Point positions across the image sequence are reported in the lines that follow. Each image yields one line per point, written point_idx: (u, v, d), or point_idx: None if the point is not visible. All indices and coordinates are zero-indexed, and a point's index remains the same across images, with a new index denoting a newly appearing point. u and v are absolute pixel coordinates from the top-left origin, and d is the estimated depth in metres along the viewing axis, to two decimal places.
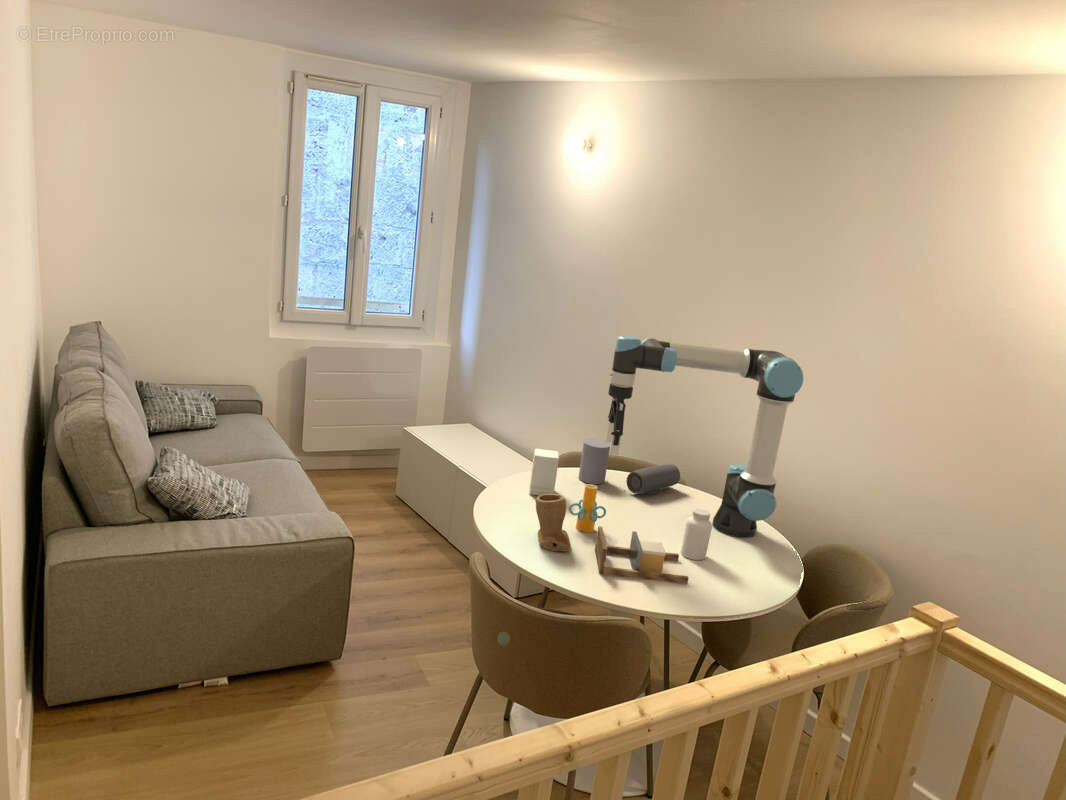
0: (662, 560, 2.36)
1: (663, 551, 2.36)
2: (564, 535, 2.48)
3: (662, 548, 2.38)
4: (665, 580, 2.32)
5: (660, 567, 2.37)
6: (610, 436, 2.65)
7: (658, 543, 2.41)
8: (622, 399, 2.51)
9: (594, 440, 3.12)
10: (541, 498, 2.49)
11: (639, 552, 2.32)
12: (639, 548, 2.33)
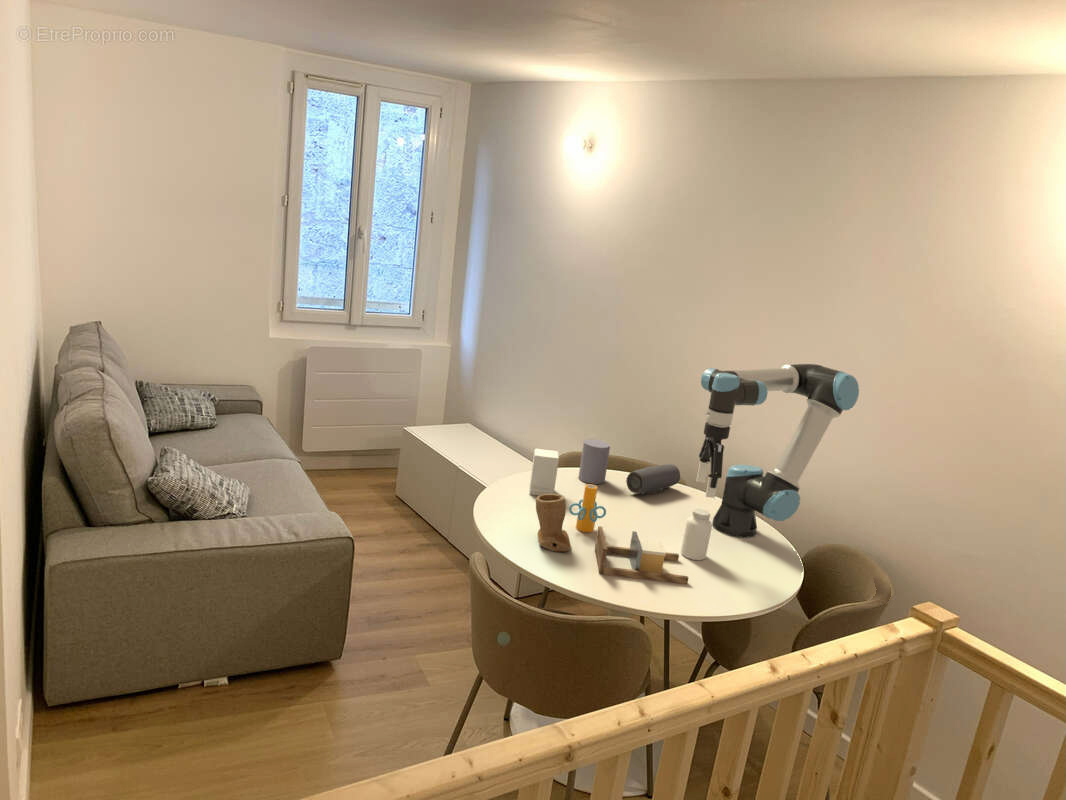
0: (662, 560, 2.36)
1: (663, 551, 2.36)
2: (564, 535, 2.48)
3: (662, 548, 2.38)
4: (665, 580, 2.32)
5: (660, 567, 2.37)
6: (701, 476, 2.54)
7: (658, 543, 2.41)
8: (719, 440, 2.40)
9: (594, 440, 3.12)
10: (541, 498, 2.49)
11: (639, 552, 2.32)
12: (639, 548, 2.33)
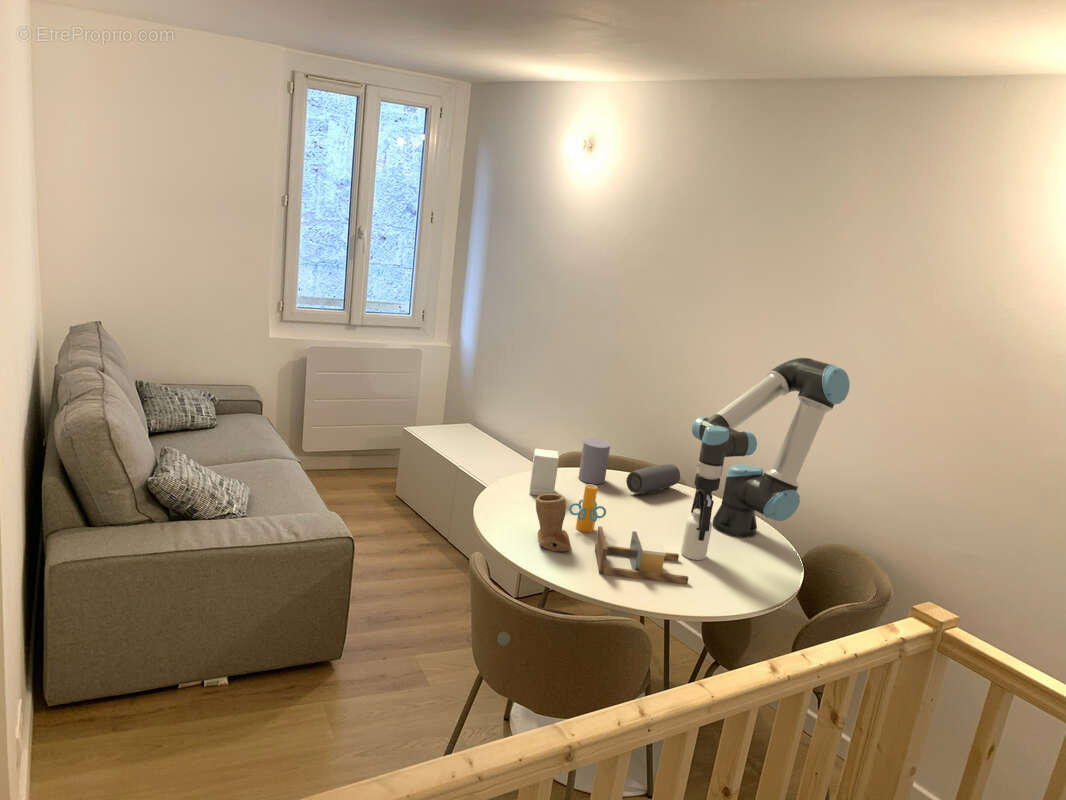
0: (662, 560, 2.36)
1: (663, 551, 2.36)
2: (564, 535, 2.48)
3: (662, 548, 2.38)
4: (665, 580, 2.32)
5: (660, 567, 2.37)
6: None
7: (658, 543, 2.41)
8: (709, 492, 2.44)
9: (594, 440, 3.12)
10: (541, 498, 2.49)
11: (639, 552, 2.32)
12: (639, 548, 2.33)
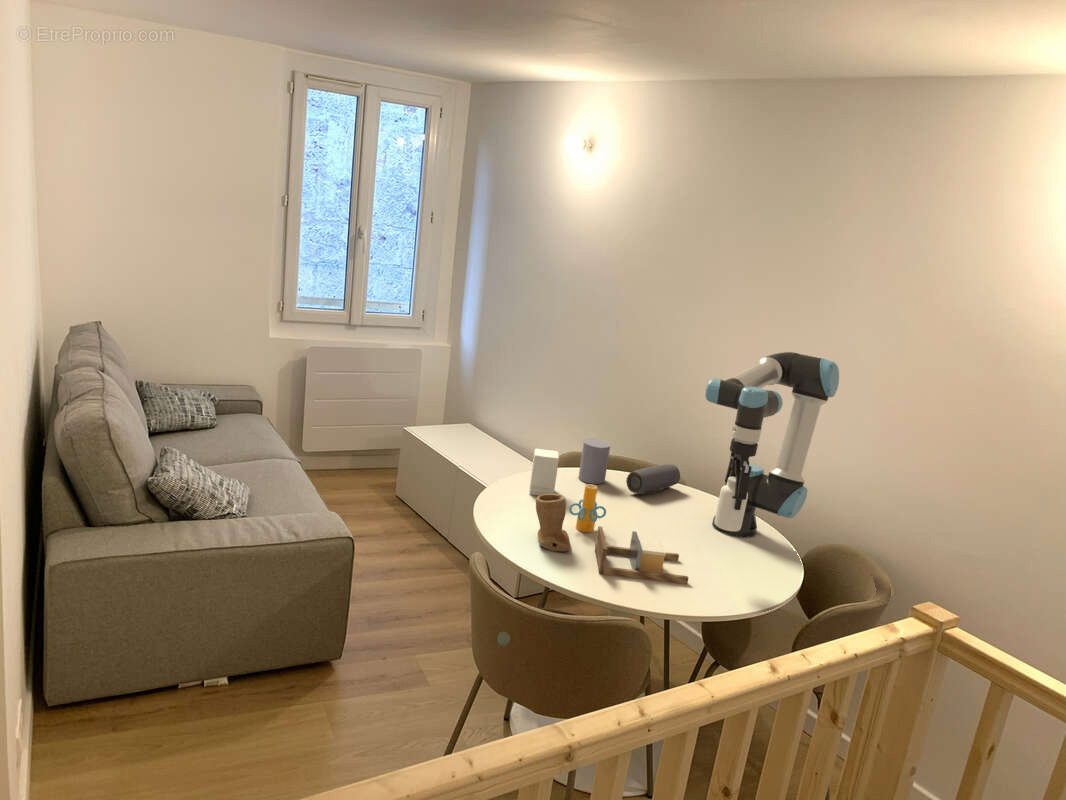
0: (662, 560, 2.36)
1: (663, 551, 2.36)
2: (564, 535, 2.48)
3: (662, 548, 2.38)
4: (665, 580, 2.32)
5: (660, 567, 2.37)
6: None
7: (658, 543, 2.41)
8: (747, 457, 2.28)
9: (594, 440, 3.12)
10: (541, 498, 2.49)
11: (639, 552, 2.32)
12: (639, 548, 2.33)
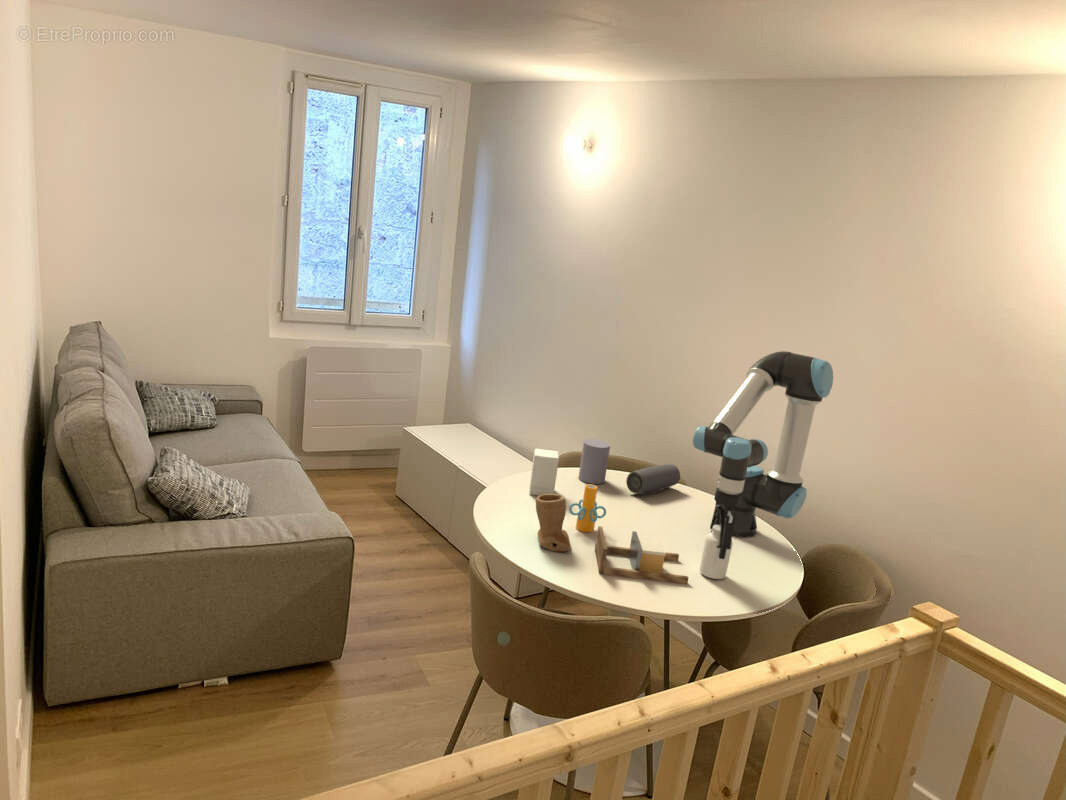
0: (662, 560, 2.36)
1: (663, 551, 2.36)
2: (564, 535, 2.48)
3: (662, 548, 2.38)
4: (665, 580, 2.32)
5: (660, 567, 2.37)
6: None
7: (658, 543, 2.41)
8: (731, 507, 2.32)
9: (594, 440, 3.12)
10: (541, 498, 2.49)
11: (639, 552, 2.32)
12: (639, 548, 2.33)
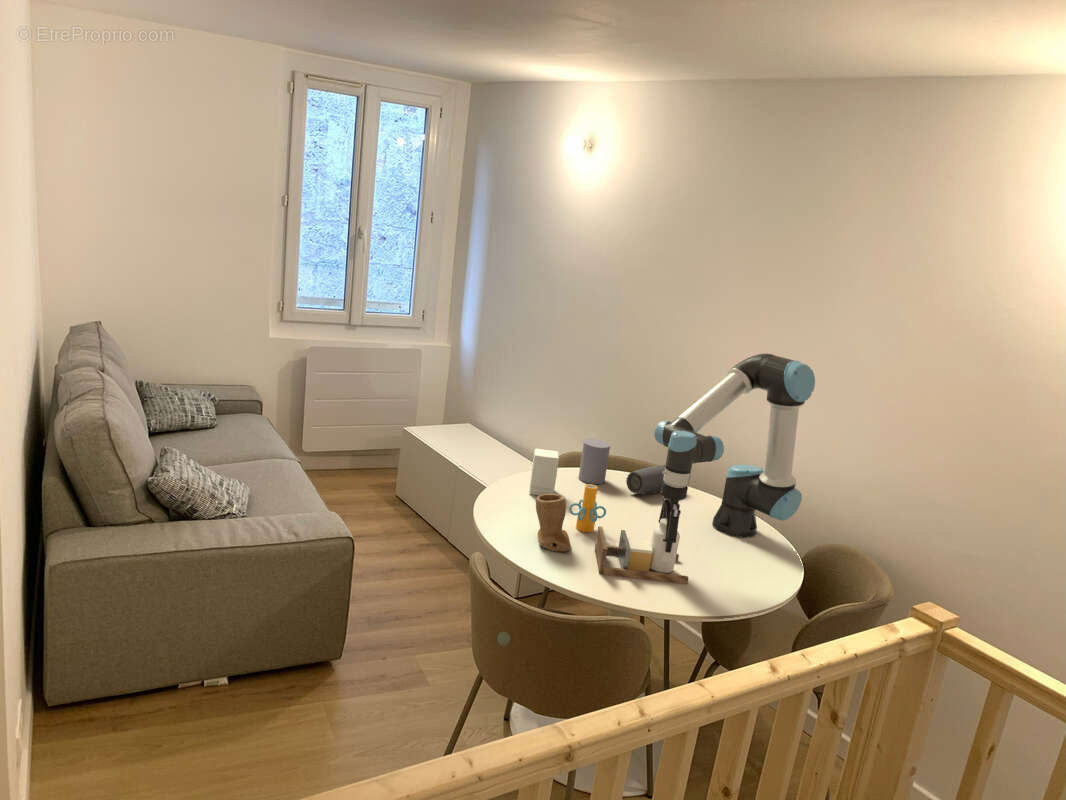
0: (649, 558, 2.36)
1: (650, 549, 2.36)
2: (564, 535, 2.48)
3: (649, 546, 2.38)
4: (665, 580, 2.32)
5: (647, 565, 2.36)
6: None
7: (645, 541, 2.41)
8: (676, 501, 2.31)
9: (594, 440, 3.12)
10: (541, 498, 2.49)
11: (627, 551, 2.32)
12: (627, 547, 2.33)
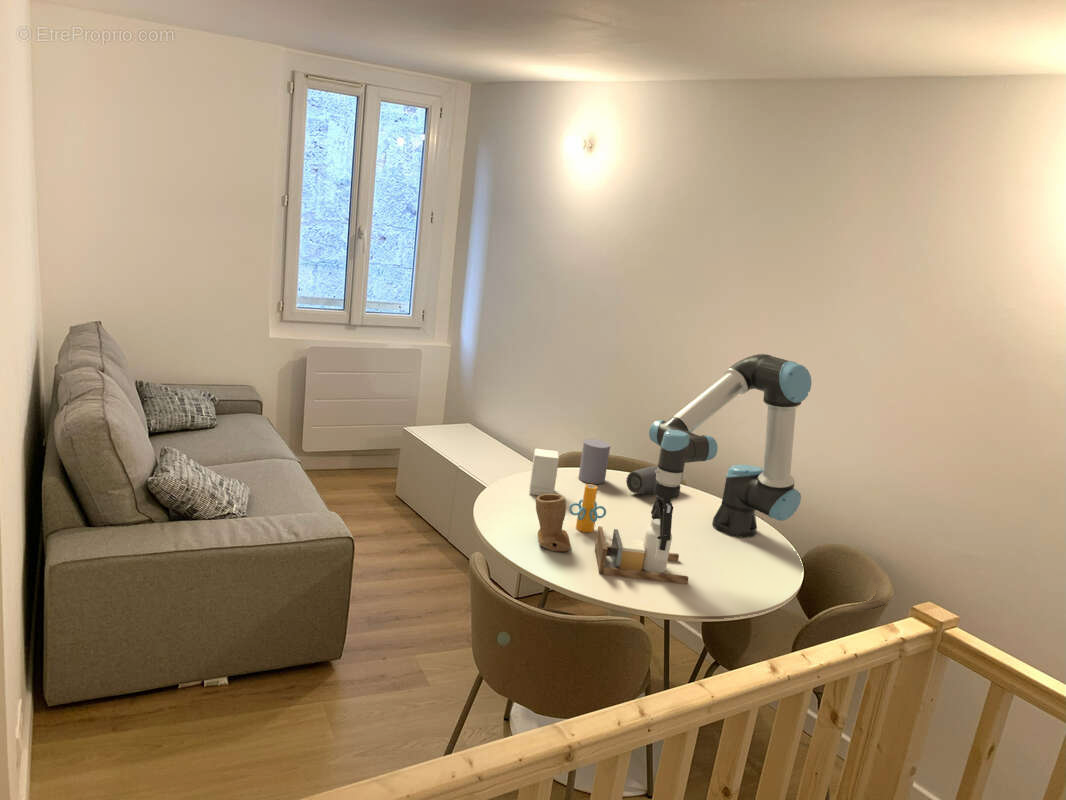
0: (641, 558, 2.36)
1: (642, 549, 2.36)
2: (564, 535, 2.48)
3: (642, 546, 2.38)
4: (665, 580, 2.32)
5: (640, 565, 2.36)
6: None
7: (638, 541, 2.41)
8: (669, 500, 2.31)
9: (594, 440, 3.12)
10: (541, 498, 2.49)
11: (619, 550, 2.32)
12: (619, 546, 2.33)
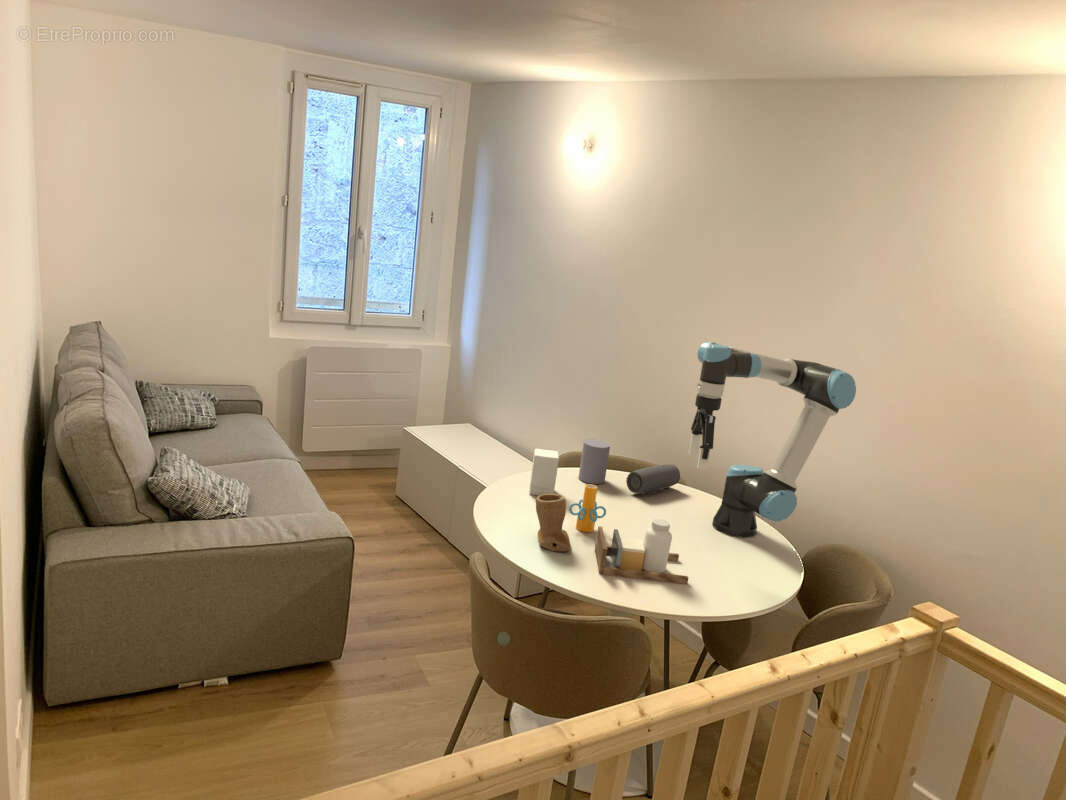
0: (641, 558, 2.36)
1: (643, 549, 2.36)
2: (564, 535, 2.48)
3: (642, 546, 2.38)
4: (665, 580, 2.32)
5: (640, 565, 2.36)
6: (694, 449, 2.53)
7: (638, 541, 2.41)
8: (711, 411, 2.39)
9: (594, 440, 3.12)
10: (541, 498, 2.49)
11: (619, 550, 2.32)
12: (619, 546, 2.33)
